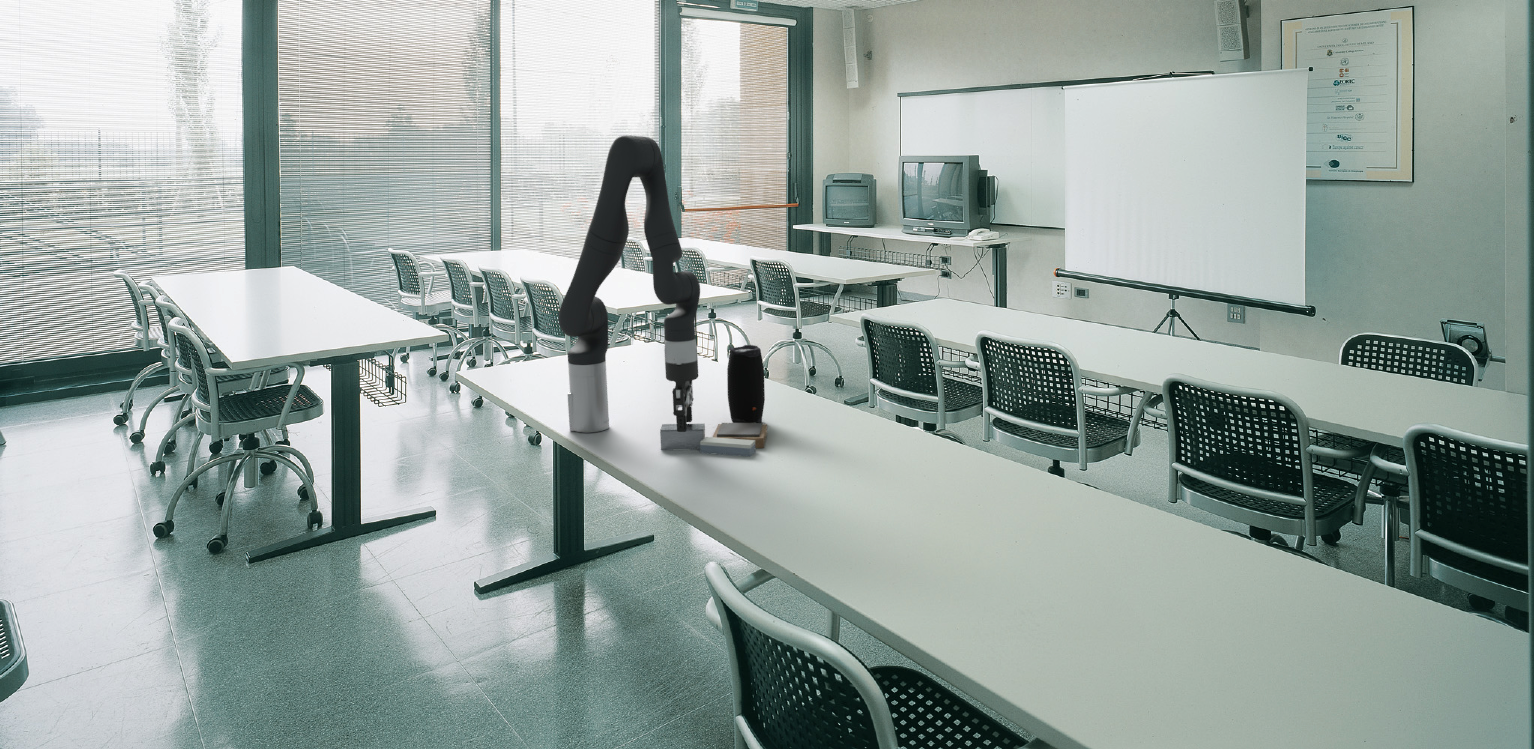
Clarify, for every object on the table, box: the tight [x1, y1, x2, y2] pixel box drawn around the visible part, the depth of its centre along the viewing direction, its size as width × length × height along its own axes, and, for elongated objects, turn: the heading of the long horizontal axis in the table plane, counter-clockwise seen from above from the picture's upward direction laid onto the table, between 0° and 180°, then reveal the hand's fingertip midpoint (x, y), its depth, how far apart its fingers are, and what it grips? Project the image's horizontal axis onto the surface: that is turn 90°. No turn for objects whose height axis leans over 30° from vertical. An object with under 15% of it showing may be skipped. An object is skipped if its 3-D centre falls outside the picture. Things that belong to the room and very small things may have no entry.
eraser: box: [699, 436, 756, 457], centre depth 219 cm, size 12×4×3 cm, turn 74°
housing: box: [659, 423, 706, 451], centre depth 224 cm, size 10×5×5 cm, turn 91°
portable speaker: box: [726, 344, 766, 423], centre depth 242 cm, size 9×9×20 cm
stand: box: [712, 422, 768, 449], centre depth 228 cm, size 12×12×3 cm
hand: (684, 426), depth 223 cm, fingers open, 8 cm apart
